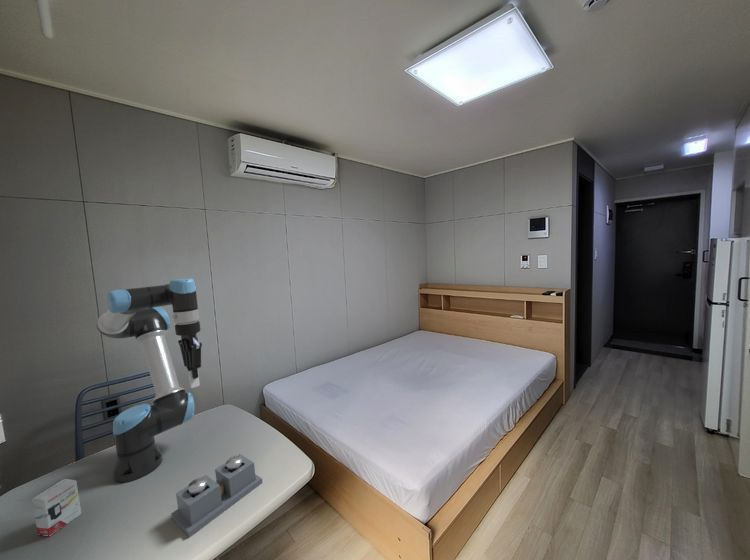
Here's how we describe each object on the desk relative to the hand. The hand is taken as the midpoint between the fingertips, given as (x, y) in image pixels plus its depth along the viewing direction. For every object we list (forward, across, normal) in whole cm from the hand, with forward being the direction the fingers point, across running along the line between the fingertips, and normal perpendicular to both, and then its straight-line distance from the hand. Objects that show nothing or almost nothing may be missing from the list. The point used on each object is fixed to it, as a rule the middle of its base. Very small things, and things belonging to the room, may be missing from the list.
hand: (194, 386), depth 108 cm
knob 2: (+32, +16, +3) cm, 36 cm away
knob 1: (+32, +16, -9) cm, 37 cm away
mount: (+34, +16, -3) cm, 38 cm away
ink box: (+35, -19, -35) cm, 53 cm away
